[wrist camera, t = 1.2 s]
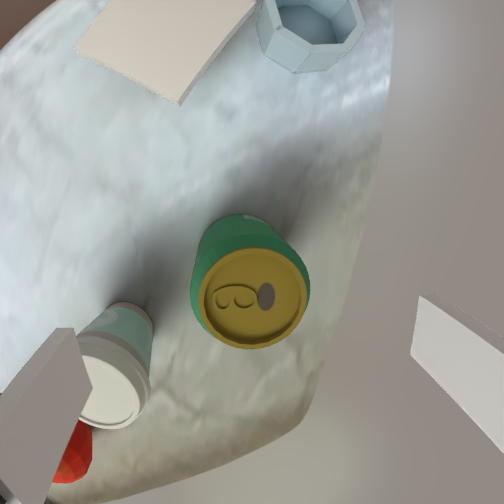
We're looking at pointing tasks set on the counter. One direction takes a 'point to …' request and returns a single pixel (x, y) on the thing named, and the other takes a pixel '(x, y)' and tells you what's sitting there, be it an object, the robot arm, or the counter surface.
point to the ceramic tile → (163, 40)
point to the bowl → (309, 32)
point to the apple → (75, 455)
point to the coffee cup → (117, 365)
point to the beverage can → (248, 283)
